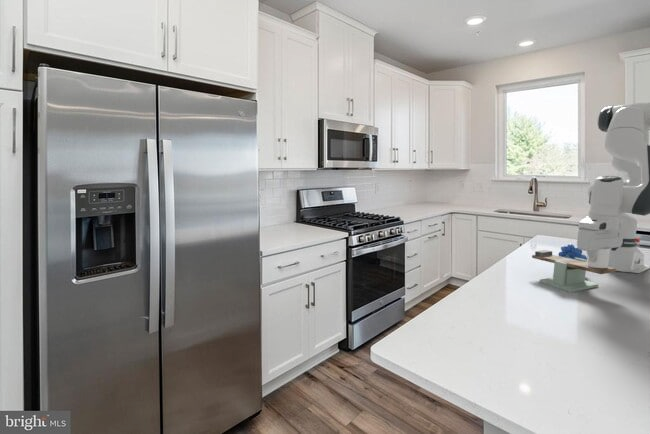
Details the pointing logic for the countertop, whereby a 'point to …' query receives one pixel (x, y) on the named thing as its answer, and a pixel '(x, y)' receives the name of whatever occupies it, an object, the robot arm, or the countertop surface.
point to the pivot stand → (568, 278)
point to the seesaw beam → (570, 262)
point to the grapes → (571, 252)
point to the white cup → (600, 258)
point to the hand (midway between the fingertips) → (598, 260)
